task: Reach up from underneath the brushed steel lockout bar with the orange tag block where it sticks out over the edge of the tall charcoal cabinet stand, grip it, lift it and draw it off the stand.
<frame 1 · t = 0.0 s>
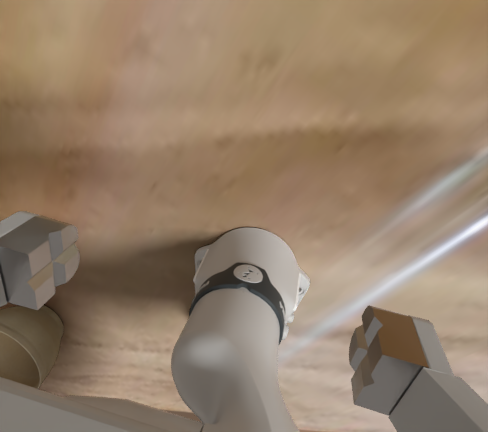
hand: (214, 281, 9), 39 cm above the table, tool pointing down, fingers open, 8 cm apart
planter bowl: (43, 321, 67), on the table
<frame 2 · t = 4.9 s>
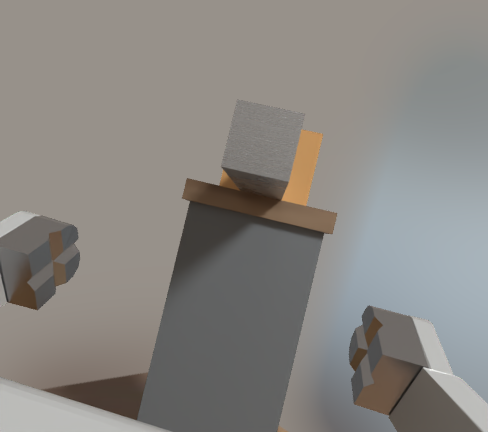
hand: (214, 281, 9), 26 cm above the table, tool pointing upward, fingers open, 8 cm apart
lockout bar: (260, 194, 23), point 30 cm above the table, touching cabinet stand
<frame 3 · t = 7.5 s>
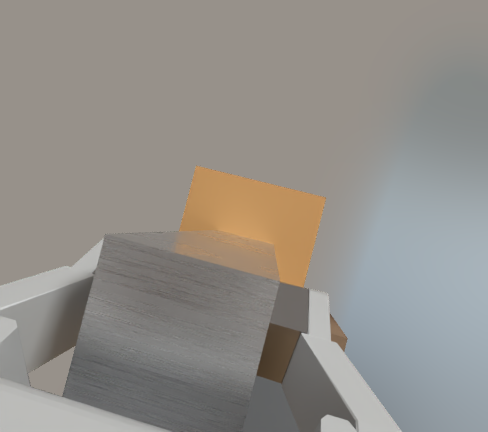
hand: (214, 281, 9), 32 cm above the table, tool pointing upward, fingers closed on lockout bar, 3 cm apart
lockout bar: (223, 306, 14), point 30 cm above the table, touching cabinet stand, gripper
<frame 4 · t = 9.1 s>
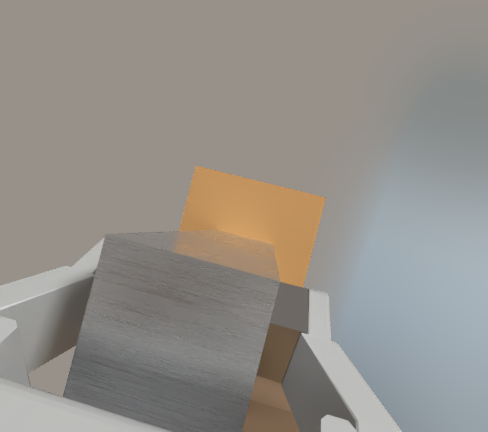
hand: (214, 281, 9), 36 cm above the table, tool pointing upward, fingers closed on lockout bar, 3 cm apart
lockout bar: (222, 306, 14), point 34 cm above the table, touching gripper
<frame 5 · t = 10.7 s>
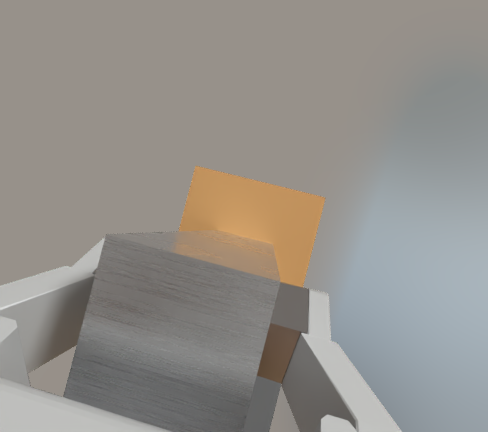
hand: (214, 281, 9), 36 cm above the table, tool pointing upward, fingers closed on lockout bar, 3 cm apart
lockout bar: (222, 306, 14), point 34 cm above the table, touching gripper
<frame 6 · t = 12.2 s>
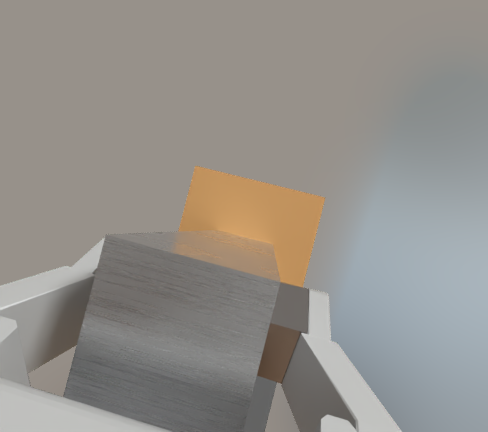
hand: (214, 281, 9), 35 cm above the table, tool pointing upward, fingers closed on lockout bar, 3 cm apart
lockout bar: (222, 306, 14), point 33 cm above the table, touching gripper
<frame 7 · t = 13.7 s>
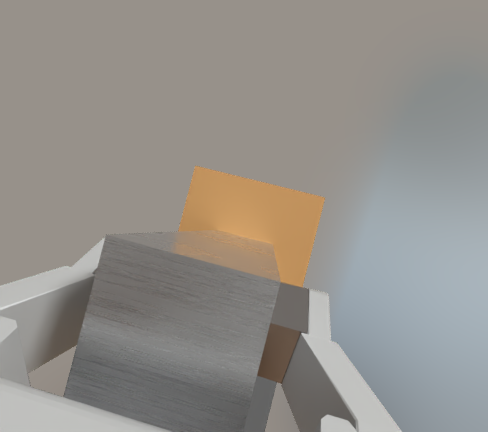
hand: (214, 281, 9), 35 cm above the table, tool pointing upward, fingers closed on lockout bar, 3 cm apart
lockout bar: (222, 306, 14), point 33 cm above the table, touching gripper
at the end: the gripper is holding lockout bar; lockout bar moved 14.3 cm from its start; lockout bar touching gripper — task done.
